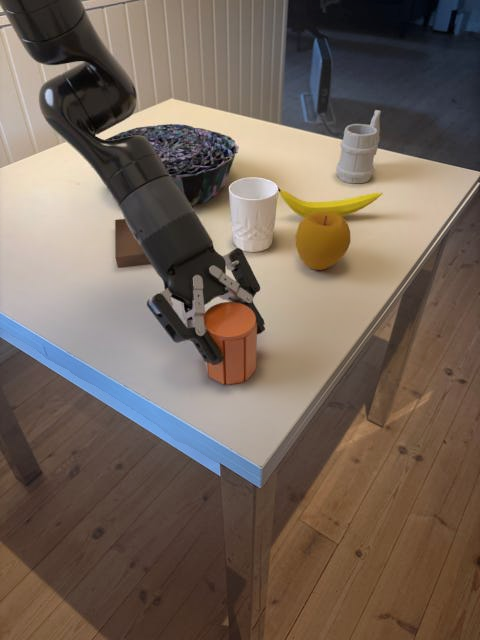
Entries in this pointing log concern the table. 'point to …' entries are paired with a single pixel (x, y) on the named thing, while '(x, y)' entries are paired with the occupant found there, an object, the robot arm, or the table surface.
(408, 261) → the table surface
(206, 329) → the orange cup
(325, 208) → the banana
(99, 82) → the robot arm
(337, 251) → the apple
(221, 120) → the table surface
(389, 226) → the table surface
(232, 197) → the white cup
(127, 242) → the cup stand
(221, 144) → the decorative bowl
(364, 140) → the mug
